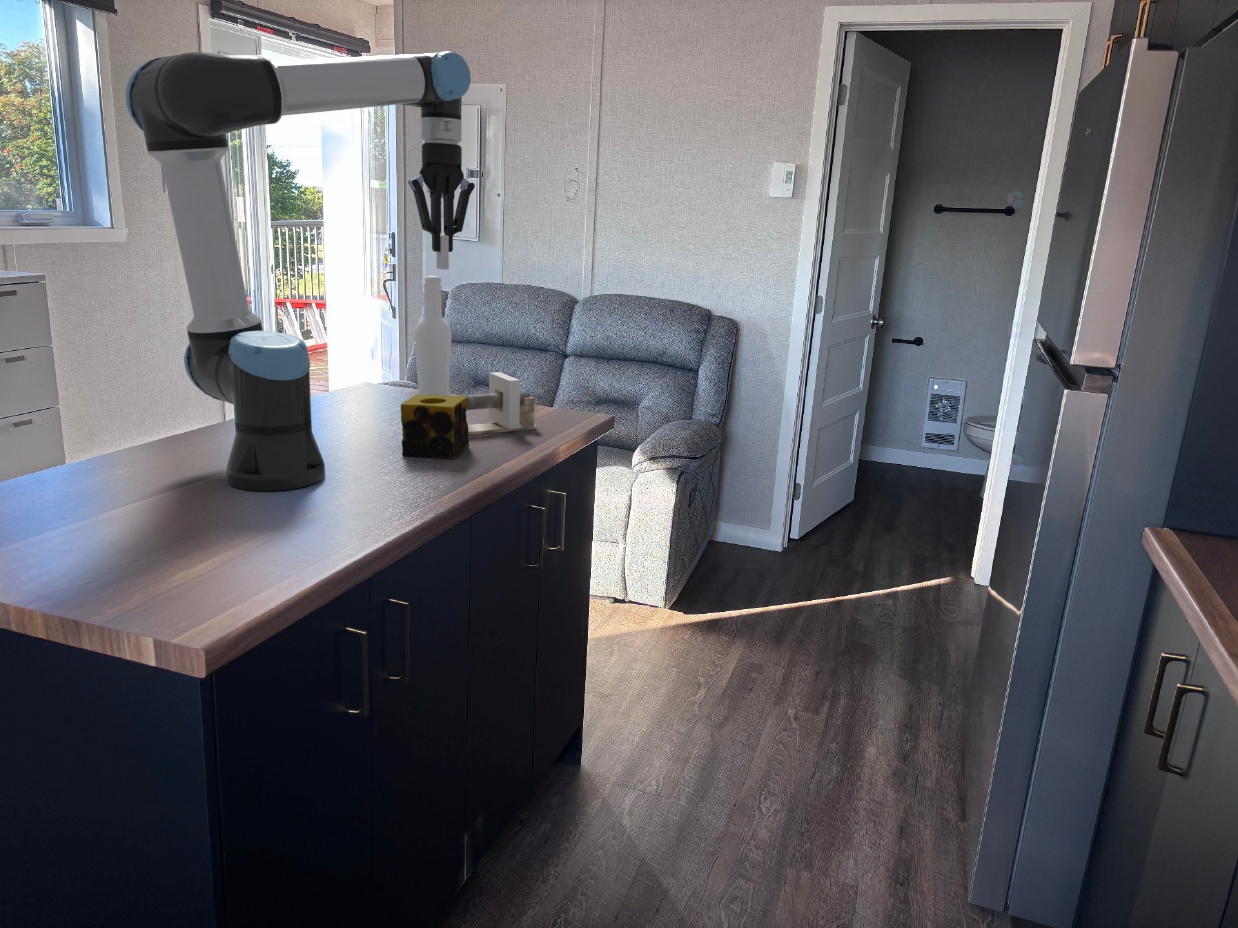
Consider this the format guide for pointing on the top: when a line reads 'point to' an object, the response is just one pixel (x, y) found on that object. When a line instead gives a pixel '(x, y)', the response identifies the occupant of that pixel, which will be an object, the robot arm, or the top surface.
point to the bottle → (433, 343)
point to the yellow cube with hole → (434, 426)
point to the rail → (499, 428)
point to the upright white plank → (505, 399)
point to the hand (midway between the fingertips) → (442, 269)
